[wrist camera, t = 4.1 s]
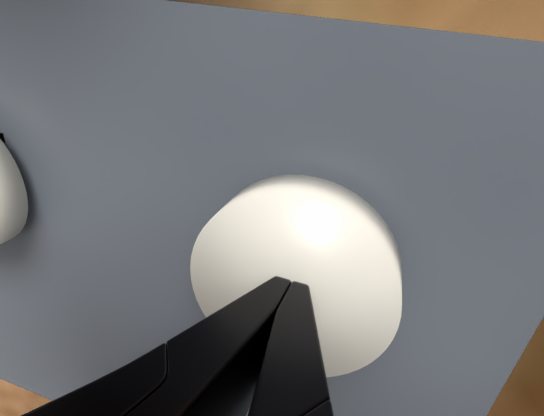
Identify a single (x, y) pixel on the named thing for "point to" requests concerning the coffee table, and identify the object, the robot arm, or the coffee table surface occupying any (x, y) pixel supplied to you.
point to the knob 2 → (307, 261)
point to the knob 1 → (11, 196)
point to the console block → (259, 165)
